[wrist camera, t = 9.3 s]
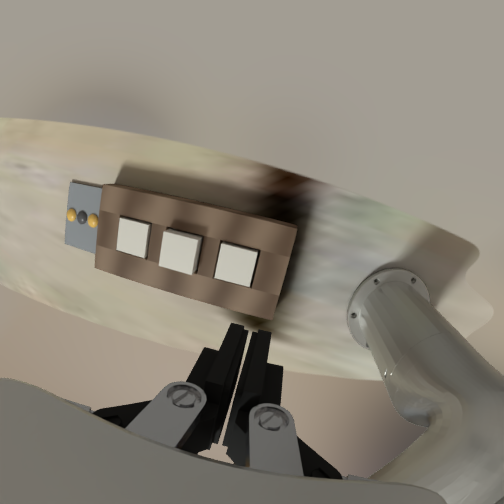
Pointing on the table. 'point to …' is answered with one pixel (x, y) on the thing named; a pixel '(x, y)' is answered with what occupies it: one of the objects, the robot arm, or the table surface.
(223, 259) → the button
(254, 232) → the button board
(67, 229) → the card
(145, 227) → the button
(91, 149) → the table surface
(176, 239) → the button middle
